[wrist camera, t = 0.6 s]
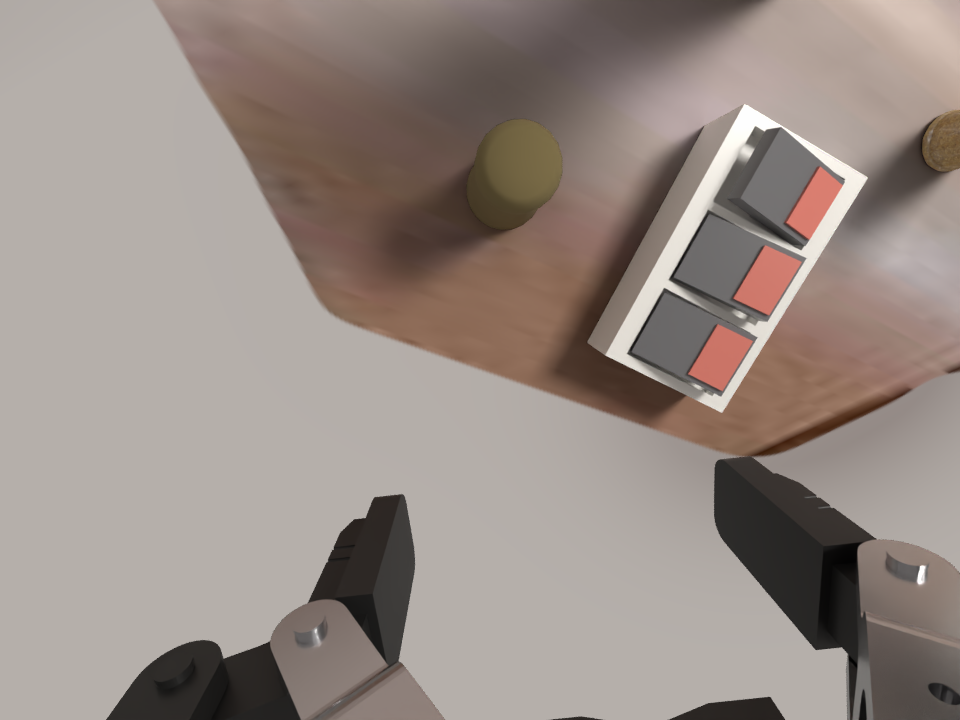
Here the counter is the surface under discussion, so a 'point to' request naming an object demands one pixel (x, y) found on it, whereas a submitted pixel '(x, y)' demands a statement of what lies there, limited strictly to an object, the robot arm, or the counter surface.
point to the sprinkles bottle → (943, 142)
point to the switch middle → (737, 268)
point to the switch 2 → (786, 187)
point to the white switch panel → (674, 228)
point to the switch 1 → (693, 343)
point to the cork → (513, 173)
